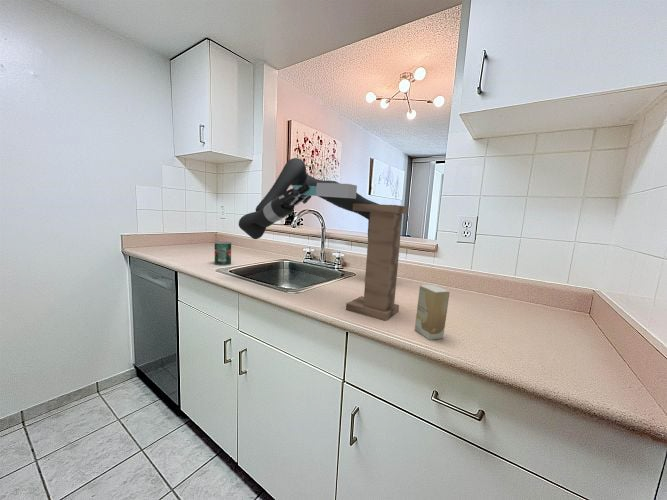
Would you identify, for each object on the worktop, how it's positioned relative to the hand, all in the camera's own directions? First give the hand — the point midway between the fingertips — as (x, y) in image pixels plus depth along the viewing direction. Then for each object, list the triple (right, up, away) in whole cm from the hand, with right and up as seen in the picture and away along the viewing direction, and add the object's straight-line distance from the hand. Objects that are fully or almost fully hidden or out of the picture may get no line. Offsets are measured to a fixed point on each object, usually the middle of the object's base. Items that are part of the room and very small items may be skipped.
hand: (311, 186), depth 93 cm
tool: (+3, -4, -2) cm, 5 cm away
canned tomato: (-49, -29, +47) cm, 73 cm away
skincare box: (+32, -43, -23) cm, 58 cm away
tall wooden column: (+19, -40, -8) cm, 45 cm away
